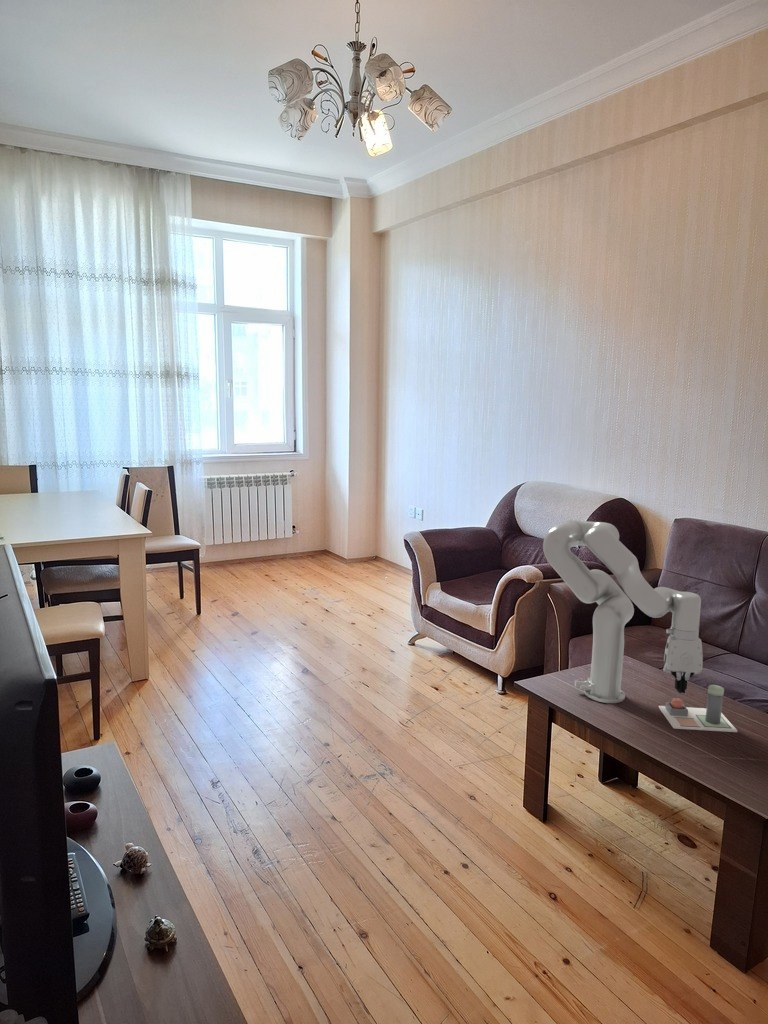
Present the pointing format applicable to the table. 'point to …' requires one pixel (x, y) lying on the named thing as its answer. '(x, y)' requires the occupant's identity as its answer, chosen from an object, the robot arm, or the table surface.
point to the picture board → (694, 719)
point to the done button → (677, 703)
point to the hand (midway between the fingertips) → (680, 691)
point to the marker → (714, 704)
